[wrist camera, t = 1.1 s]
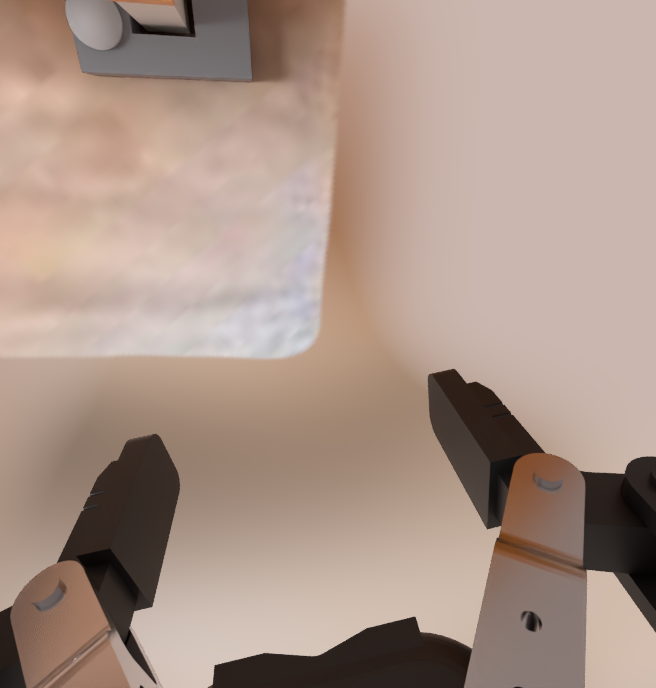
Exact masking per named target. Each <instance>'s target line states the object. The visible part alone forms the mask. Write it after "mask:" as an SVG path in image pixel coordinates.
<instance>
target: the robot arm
mask: <svg viewBox="0 0 656 688" xmlns="http://www.w3.org/2000/svg"><path fill="white" fill-rule="evenodd" d="M428 391H429V392H428V393H429V412H430V420H431V424H432V427H433V430H434V433H435V435H436V437H437V439H438V440H439V442H440V444H441V446H442V448H443V450H444V452H445V453H446V455H447V457H448V459H449V461H450V463H451V464H452V466H453V468H454V470H455V472H456V473H457V475H458V477H459V479H460V481H461V483H462V484H463V486H464V488H465V490H466V492H467V494H468V495H469V497H470V499H471V501H472V503H473V505H474V506H475V508H476V510H477V512H478V514H479V515H480V517H481V519H482V521H483V523H484V525H485V526H486V528H487V529H490V528H494V527H498V526H501V530H500V535H499V538H497V539H496V542H495V546H494V550H493V555H492V560H491V564H490V569H489V574H488V579H487V583H486V588H485V593H484V597H483V601H482V607H481V611H480V615H479V621H478V625H477V629H476V634H475V639H474V643H473V648H472V649H471V648H470V647H468V646H466V645H464V644H462V643H460V642H458V641H456V640H453V639H451V638H448V637H445V636H442V635H437V634H432V633H423V632H420V630H419V627H418V624H417V621H416V617H411V618H407V619H404V620H399V621H395V622H391V623H387V624H383V625H379V626H375V627H370V628H366V629H365V630H363V631H362V632H360V633H358V634H356V635H354V636H353V637H351V638H349V639H348V640H346V641H344V642H342V643H341V644H339V645H337V646H335V647H334V648H332V649H330V650H328V651H327V652H325V653H323V654H321V655H319V656H312V657H311V656H298V655H284V654H269V653H263V654H260V655H255V656H251V657H247V658H243V659H239V660H235V661H230V662H226V663H222V664H218V665H215V667H214V668H215V669H214V678H213V685H211V686H209V687H208V688H584V687H585V646H586V643H585V642H586V602H587V599H586V598H587V571H586V570H595V571H605V572H613V573H614V574H615V575H616V577H617V578H618V580H619V581H620V582H621V584H622V585H623V587H624V588H625V590H626V591H627V592H628V594H629V595H630V597H631V598H632V599H633V601H634V602H635V604H636V605H637V607H638V608H639V609H640V611H641V612H642V614H643V615H644V617H645V618H646V619H647V621H648V622H649V624H650V625H651V626H652V628H653V629H654V631H655V632H656V457H640V458H637V459H634V460H632V461H631V462H630V463H629V464H628V465H627V467H626V471H625V474H616V473H592V472H583V471H579V470H578V469H577V468H576V467H575V466H574V465H573V464H571V463H570V462H569V461H567V460H565V459H563V458H561V457H558V456H555V455H552V454H547V453H545V452H544V451H543V450H542V449H541V447H540V446H539V445H538V444H537V443H536V441H535V440H534V439H533V438H532V437H531V436H530V434H529V433H528V432H527V431H526V430H525V429H524V427H523V426H522V425H521V424H520V423H519V421H518V420H517V419H516V418H515V417H514V416H513V415H511V413H510V411H509V410H508V409H507V407H506V406H505V405H503V404H502V402H501V400H500V399H499V398H498V397H497V396H496V395H495V393H494V392H493V391H492V390H490V389H489V388H487V387H485V386H483V385H481V384H480V383H478V382H472V383H468V384H467V383H466V382H465V381H464V380H463V378H462V377H461V376H460V374H458V372H457V371H456V370H455V369H451V370H446V371H442V372H437V373H433V374H429V376H428ZM179 490H180V481H179V475H178V472H177V470H176V467H175V466H174V463H173V462H172V460H171V458H170V456H169V454H168V452H167V450H166V448H165V446H164V444H163V442H162V440H161V438H160V437H159V436H158V435H157V434H153V435H148V436H143V437H139V438H134V439H130V440H128V441H127V442H126V444H125V446H124V449H123V450H122V453H121V455H120V457H119V459H118V460H117V461H113V462H111V463H110V464H109V465H108V467H107V468H106V469H105V470H104V471H103V472H102V473H101V474H100V475H99V477H98V478H97V480H96V482H95V484H94V486H93V488H92V491H91V493H90V497H88V499H87V501H86V503H85V505H84V507H83V508H84V511H81V514H80V516H79V518H78V520H77V522H76V524H75V526H74V528H73V530H72V532H71V534H70V537H69V539H68V541H67V543H66V545H65V547H64V549H63V551H62V553H61V555H60V557H59V560H58V562H57V563H56V564H54V565H52V566H50V567H48V568H46V569H45V570H43V571H42V572H40V573H39V574H38V575H36V576H35V577H34V578H33V579H32V580H31V581H30V582H29V583H28V584H27V585H26V586H25V587H24V588H23V589H22V591H21V592H20V593H19V595H18V597H17V598H16V600H15V602H14V604H13V606H11V607H9V608H7V609H5V610H3V611H1V612H0V688H163V687H162V685H161V683H160V681H159V679H158V677H157V675H156V673H155V671H154V669H153V667H152V665H151V663H150V661H149V659H148V657H147V655H146V654H145V651H144V650H143V648H142V646H141V644H140V642H139V640H138V638H137V636H136V634H135V632H134V630H133V629H132V627H131V626H130V624H131V621H132V617H133V613H134V611H137V610H141V609H145V608H149V607H152V606H153V602H154V598H155V593H156V589H157V585H158V581H159V576H160V572H161V568H162V563H163V559H164V555H165V551H166V547H167V542H168V538H169V534H170V529H171V525H172V521H173V517H174V513H175V508H176V504H177V500H178V495H179Z"/></svg>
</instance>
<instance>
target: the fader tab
mask: <svg viewBox="0 0 656 688" xmlns="http://www.w3.org/2000/svg"><path fill="white" fill-rule="evenodd" d="M110 1H115V2H117V3H118V4H119V5H120V6H121V7H122V8H123V9H124V10H125V11H127V12H128V13H129V14H130V15H131V16H132V17H133V18H134V19H135V20H136V21H137V22H138V23H140V24H141V25H142V26H143V27H144V28H145V29H146V30H147V31H153V32H169V33H185V34H190V27H189V18H188V10H187V1H186V0H110Z"/></svg>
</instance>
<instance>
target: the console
mask: <svg viewBox="0 0 656 688" xmlns="http://www.w3.org/2000/svg"><path fill="white" fill-rule="evenodd" d="M65 1H66V7H65V10H66V17H67V21H68V23H69V26H70V28H71V29H72V31H73V35H74V40H75V44H76V48H77V53H78V57H79V61H80V65H81V70H82V72H84V73H88V74H91V75H95V76H112V77H136V78H160V79H184V80H208V81H233V82H251V80H252V70H251V53H250V36H249V19H248V2H247V0H192V7H193V16H194V25H195V34H196V37H182V36H166V35H149V34H141V31H140V25H139V23H138V22H137V21H136V20H135V19H134V18H133V17H132V16H131V15H130V14H129V13H128V12H127V11H125V10H124V9H123V8H122V7H121V6H120V5H119V4H118V3H117V2H115V1H110V0H65Z"/></svg>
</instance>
